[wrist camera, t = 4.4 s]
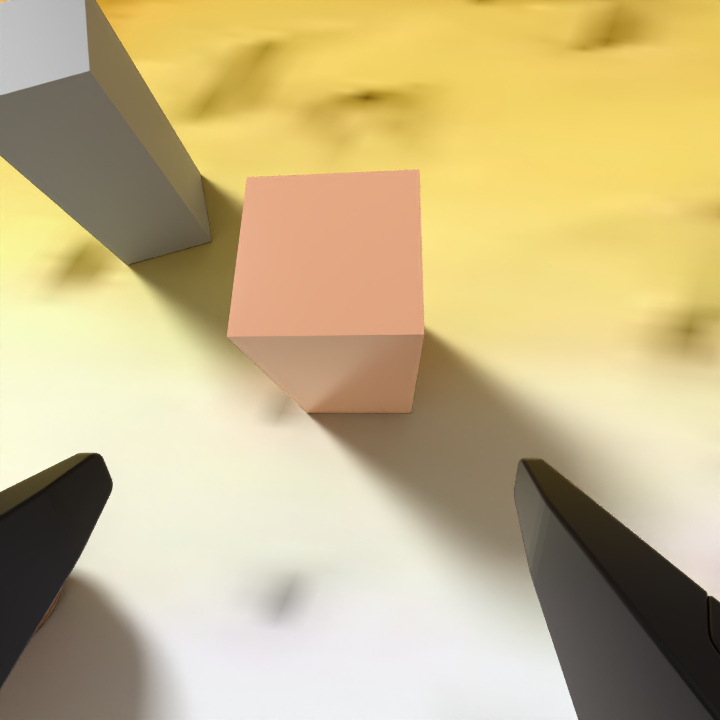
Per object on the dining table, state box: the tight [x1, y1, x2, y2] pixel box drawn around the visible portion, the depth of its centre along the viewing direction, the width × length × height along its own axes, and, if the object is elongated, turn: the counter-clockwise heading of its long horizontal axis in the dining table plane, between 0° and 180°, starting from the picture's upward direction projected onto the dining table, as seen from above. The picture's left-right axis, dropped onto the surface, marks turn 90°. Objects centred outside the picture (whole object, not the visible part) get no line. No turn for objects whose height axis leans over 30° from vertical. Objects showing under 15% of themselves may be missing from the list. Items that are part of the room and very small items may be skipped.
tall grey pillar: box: [0, 0, 212, 265], centre depth 22 cm, size 6×6×11 cm
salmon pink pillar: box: [227, 170, 424, 413], centre depth 18 cm, size 6×6×11 cm
